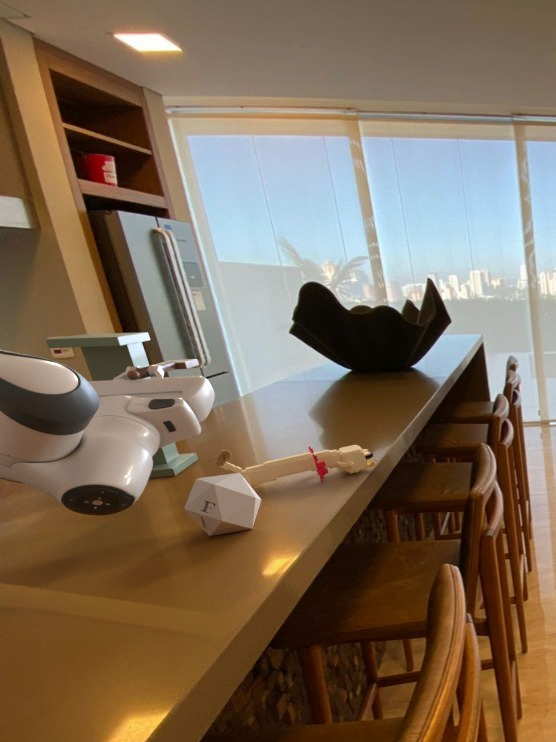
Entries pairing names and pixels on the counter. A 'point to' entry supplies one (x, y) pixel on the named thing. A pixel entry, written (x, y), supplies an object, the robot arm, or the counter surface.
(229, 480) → the die
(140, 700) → the counter surface
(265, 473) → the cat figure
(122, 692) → the counter surface
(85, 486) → the robot arm
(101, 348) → the spoon stand
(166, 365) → the spoon
